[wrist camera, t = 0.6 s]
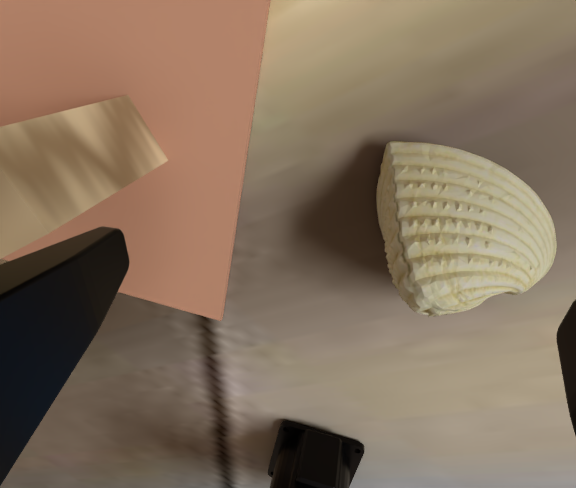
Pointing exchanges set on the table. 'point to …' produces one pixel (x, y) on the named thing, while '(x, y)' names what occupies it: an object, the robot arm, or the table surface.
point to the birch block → (69, 166)
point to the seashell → (458, 228)
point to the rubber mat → (150, 123)
